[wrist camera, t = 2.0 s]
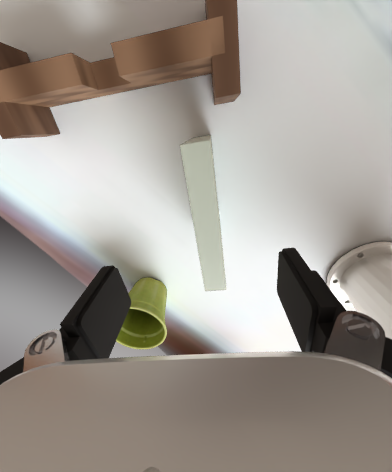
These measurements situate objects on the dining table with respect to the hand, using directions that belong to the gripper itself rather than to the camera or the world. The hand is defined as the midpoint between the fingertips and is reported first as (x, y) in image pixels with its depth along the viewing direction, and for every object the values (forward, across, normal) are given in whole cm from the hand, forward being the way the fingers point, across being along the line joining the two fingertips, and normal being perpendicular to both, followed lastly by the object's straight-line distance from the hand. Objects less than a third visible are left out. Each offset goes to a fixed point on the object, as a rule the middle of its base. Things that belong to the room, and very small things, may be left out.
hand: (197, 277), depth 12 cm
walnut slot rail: (+19, +7, -14) cm, 24 cm away
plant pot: (+19, +12, +18) cm, 28 cm away
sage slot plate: (+18, -1, 0) cm, 19 cm away
